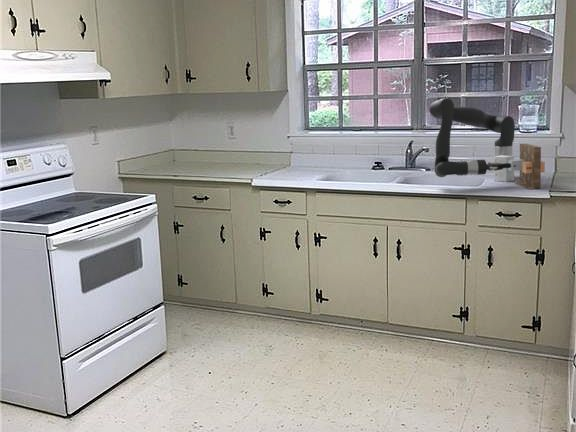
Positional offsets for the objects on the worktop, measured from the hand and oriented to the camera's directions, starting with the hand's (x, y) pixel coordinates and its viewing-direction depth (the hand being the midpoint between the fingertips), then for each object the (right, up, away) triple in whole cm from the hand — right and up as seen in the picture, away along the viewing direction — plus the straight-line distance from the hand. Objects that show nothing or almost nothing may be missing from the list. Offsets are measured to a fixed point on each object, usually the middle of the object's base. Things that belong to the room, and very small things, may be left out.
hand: (510, 165), depth 330 cm
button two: (+8, -4, -11) cm, 14 cm away
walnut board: (+7, -10, -4) cm, 13 cm away
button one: (+5, -2, 0) cm, 5 cm away
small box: (+3, -7, +18) cm, 19 cm away
